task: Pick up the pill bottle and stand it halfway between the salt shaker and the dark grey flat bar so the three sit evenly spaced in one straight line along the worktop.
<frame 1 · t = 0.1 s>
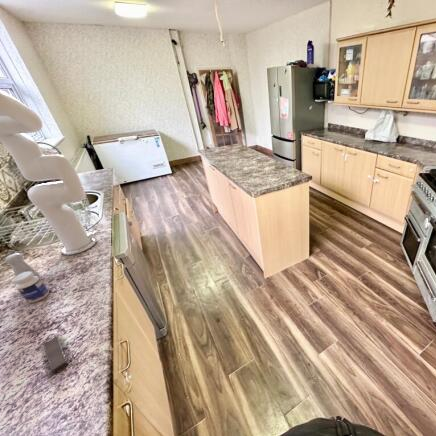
dark grey flat bar: (56, 354, 64), on the counter
salt shaker: (33, 282, 91), on the counter
pill bottle: (39, 297, 84), on the counter
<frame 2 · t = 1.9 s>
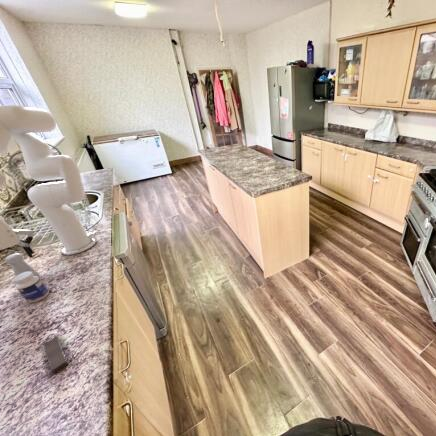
hand: (10, 263, 76), 16 cm above the counter, tool pointing down, fingers open, 9 cm apart
nothing on the counter moved.
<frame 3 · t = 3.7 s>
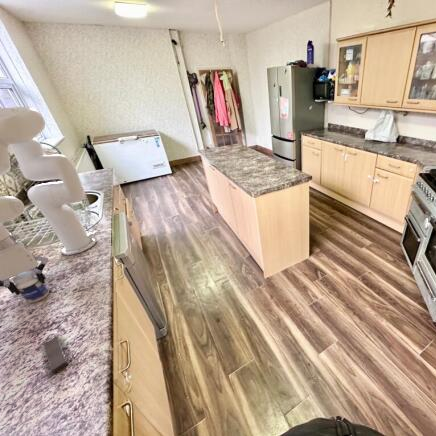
hand: (30, 286, 81), 5 cm above the counter, tool pointing down, fingers closed on pill bottle, 5 cm apart
pill bottle: (39, 297, 84), on the counter, touching gripper
everything else where it was.
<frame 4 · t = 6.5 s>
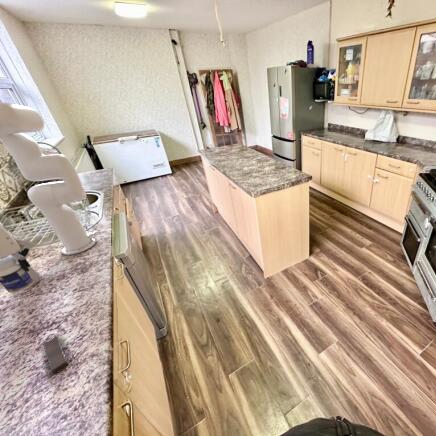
hand: (12, 274, 70), 16 cm above the counter, tool pointing down, fingers closed on pill bottle, 5 cm apart
pill bottle: (22, 287, 72), point 11 cm above the counter, touching gripper
everything else where it was.
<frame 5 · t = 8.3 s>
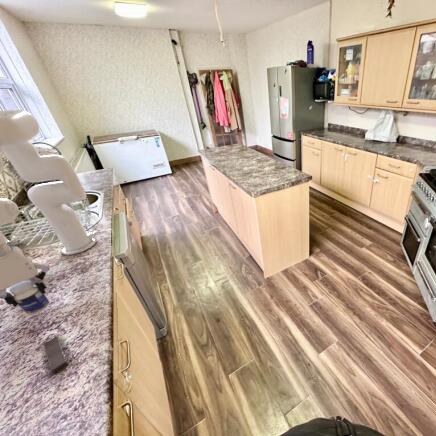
hand: (30, 297, 74), 7 cm above the counter, tool pointing down, fingers closed on pill bottle, 5 cm apart
pill bottle: (39, 308, 76), point 2 cm above the counter, touching gripper
everything else where it was.
when the fingers open (5 cm above the counter, at t = 9.4 s): pill bottle stays where it is, on the counter.
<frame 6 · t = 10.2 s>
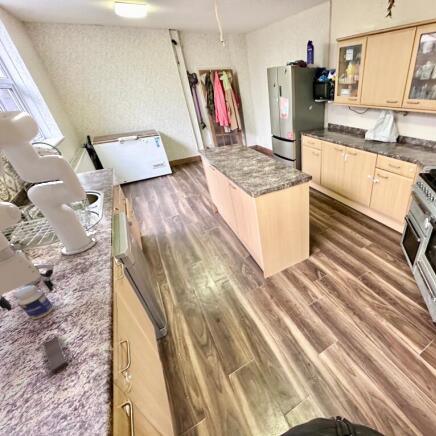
hand: (31, 298, 74), 6 cm above the counter, tool pointing down, fingers open, 9 cm apart
pill bottle: (43, 312, 77), on the counter
everything else where it was.
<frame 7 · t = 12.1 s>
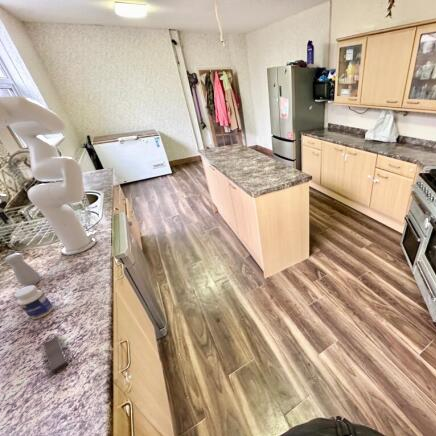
nothing on the counter moved.
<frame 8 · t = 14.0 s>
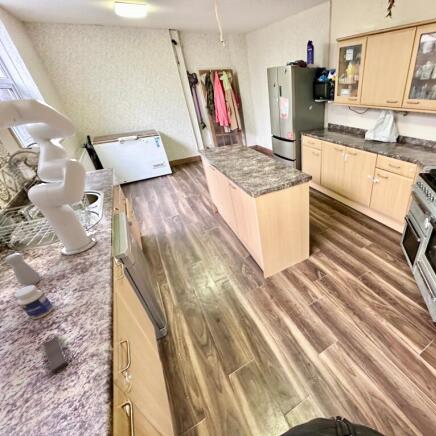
nothing on the counter moved.
at the end: pill bottle 0.0 cm from the target spot on the counter beside the salt shaker, on the counter; pill bottle 0.0 cm from the target spot on the counter beside the dark grey flat bar, on the counter; pill bottle tilted 0° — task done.
